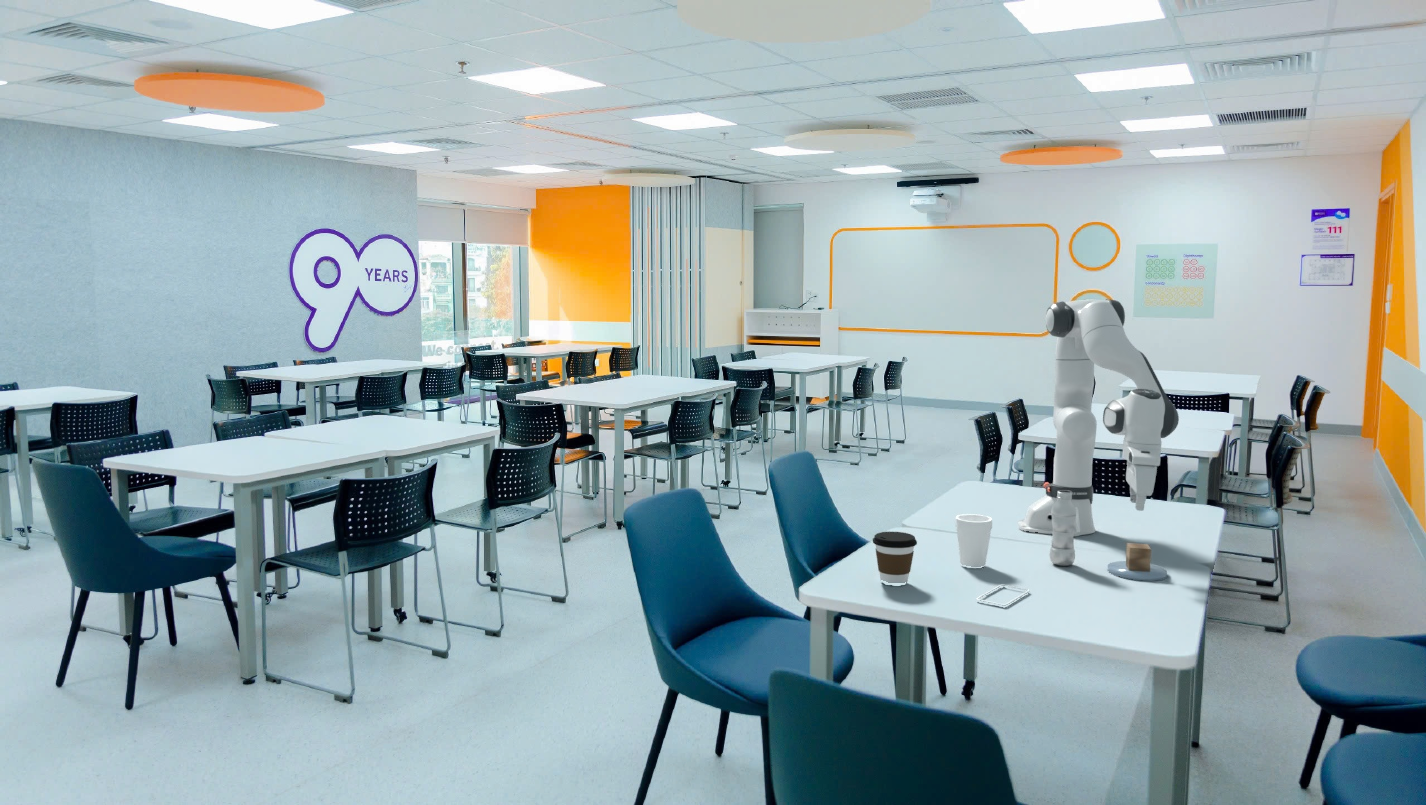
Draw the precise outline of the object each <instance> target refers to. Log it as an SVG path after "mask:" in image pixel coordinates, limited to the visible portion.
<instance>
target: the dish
mask: <svg viewBox="0 0 1426 805" xmlns="http://www.w3.org/2000/svg"><path fill="white" fill-rule="evenodd" d="M1108 571H1109V572H1108ZM1107 572H1108V573H1109V574H1110V573H1111V574H1110V575H1112V574H1113V576H1115V575H1116V576H1115V577H1117V576H1120V577H1119V578H1121V577H1122V578H1121V579H1125V578H1128V579H1127V580H1131V579H1133V580H1132V581H1138V580H1143V581H1142V582H1157V581H1156V580H1158V581H1163V580H1166V579H1167V577H1168V571H1167V569H1165V568H1164V567H1162V566H1160V565H1156V564H1152V563H1150V572H1144V571H1129V570H1128V568H1127V566H1126V560H1123V561H1122V560H1121V561H1120V560H1119V561H1113V562H1109V563H1108V564H1107Z"/></svg>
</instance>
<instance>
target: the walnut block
mask: <svg viewBox="0 0 1426 805" xmlns="http://www.w3.org/2000/svg"><path fill="white" fill-rule="evenodd" d="M1125 553H1126V554H1125V561H1126V566H1127V568H1128V570H1129V571H1144V572H1150V564H1152V563H1151V558H1152V548H1151V547H1150V546H1149V544H1148V543H1133V542H1126V552H1125Z"/></svg>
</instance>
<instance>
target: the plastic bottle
mask: <svg viewBox="0 0 1426 805" xmlns="http://www.w3.org/2000/svg"><path fill="white" fill-rule="evenodd" d="M1057 498H1058V500H1057V501H1056V503H1055V504H1054V505H1053V507H1052V510H1051V514H1052V523H1053V534H1052V536H1051V537H1052V538H1051V546H1050V550H1049V555H1048V556H1049V560H1050V562H1051V564H1054V565H1056V566H1063V567H1064V566H1066V567H1068V566H1071V565H1073V564H1074V563H1075V559H1076V553H1075V552H1076V550H1075V543H1074V539H1075V538H1074V536H1073V535H1074V532H1073V531H1074V525H1075V519H1076V513H1077V511H1076V508H1075V506H1074V505H1073V503H1072V502H1071V499H1072V492H1071V491H1067V490H1058V492H1057Z"/></svg>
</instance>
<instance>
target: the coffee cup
mask: <svg viewBox="0 0 1426 805" xmlns="http://www.w3.org/2000/svg"><path fill="white" fill-rule="evenodd" d="M873 536H874V537H873V538H872V544H874V545H875V554H876V555H875V556H876V562H877V567H878V572H879V578H880V581H881V580H883V581H886V582H888V583H905V582H907V583H908V581H909V574H910V572H911V570H912V563H913V558H914V552H915V551H914V547H915V546H917V545H918V541H917V539H916V537H915V535H913V534H911V533H908V532H902V531H882V532H878V533H875V534H874V535H873Z"/></svg>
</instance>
